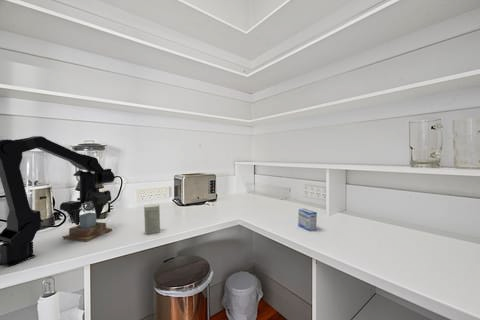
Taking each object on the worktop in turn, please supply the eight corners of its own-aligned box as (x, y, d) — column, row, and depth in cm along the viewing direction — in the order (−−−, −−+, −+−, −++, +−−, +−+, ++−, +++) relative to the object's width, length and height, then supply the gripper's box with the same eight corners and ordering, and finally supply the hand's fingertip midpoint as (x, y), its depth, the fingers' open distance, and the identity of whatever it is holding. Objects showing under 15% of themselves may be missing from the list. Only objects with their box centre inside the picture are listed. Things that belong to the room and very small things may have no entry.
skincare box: (160, 229, 92) (160, 203, 92) (159, 232, 88) (159, 205, 88) (145, 231, 90) (145, 204, 90) (144, 234, 86) (144, 207, 85)
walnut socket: (86, 241, 78) (86, 232, 78) (62, 239, 80) (62, 229, 80) (111, 230, 90) (111, 222, 90) (90, 228, 92) (90, 220, 92)
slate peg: (87, 234, 83) (87, 215, 83) (79, 233, 83) (79, 215, 83) (96, 231, 87) (96, 213, 86) (88, 230, 87) (88, 212, 87)
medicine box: (297, 226, 98) (298, 208, 98) (304, 224, 100) (304, 207, 100) (310, 231, 91) (310, 213, 91) (316, 229, 93) (317, 211, 93)
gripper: (81, 190, 74) (82, 230, 74) (121, 183, 92) (121, 216, 93) (58, 188, 76) (59, 228, 76) (101, 182, 94) (101, 214, 95)
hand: (88, 221), depth 85 cm, fingers open, 9 cm apart
